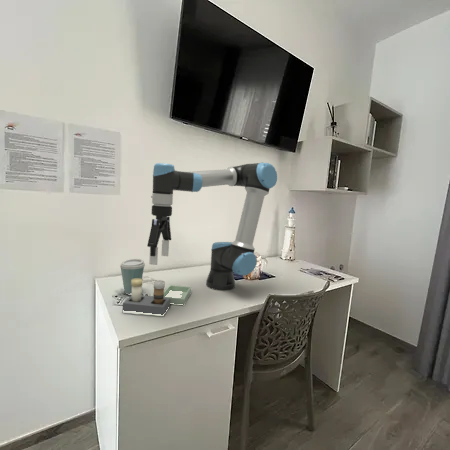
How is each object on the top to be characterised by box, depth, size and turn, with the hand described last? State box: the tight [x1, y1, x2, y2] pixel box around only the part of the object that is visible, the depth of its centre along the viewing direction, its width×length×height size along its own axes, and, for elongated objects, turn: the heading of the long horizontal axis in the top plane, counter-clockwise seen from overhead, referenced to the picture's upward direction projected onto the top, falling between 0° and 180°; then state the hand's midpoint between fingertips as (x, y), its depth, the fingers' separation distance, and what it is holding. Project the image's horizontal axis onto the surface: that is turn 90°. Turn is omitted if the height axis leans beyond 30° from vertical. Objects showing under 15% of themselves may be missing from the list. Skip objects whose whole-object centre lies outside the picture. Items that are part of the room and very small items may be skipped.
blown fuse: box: [153, 279, 166, 305], centre depth 104 cm, size 4×4×12 cm
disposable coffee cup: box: [119, 258, 146, 294], centre depth 120 cm, size 11×11×15 cm
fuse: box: [131, 278, 144, 302], centre depth 104 cm, size 4×4×12 cm
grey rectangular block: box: [122, 294, 171, 315], centre depth 104 cm, size 16×9×4 cm, turn 85°
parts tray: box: [164, 284, 192, 306], centre depth 118 cm, size 11×15×3 cm
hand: (159, 259), depth 102 cm, fingers open, 13 cm apart
